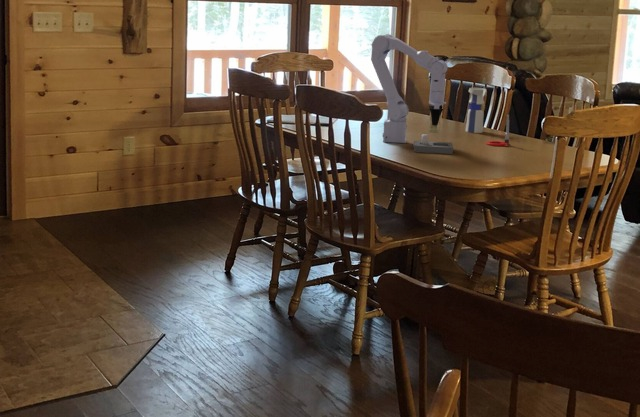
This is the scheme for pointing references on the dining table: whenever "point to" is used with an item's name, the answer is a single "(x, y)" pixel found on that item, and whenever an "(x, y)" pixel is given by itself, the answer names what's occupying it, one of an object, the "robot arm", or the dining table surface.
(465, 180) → the dining table surface
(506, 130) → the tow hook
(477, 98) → the water bottle
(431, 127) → the cylinder
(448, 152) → the grey holder block
